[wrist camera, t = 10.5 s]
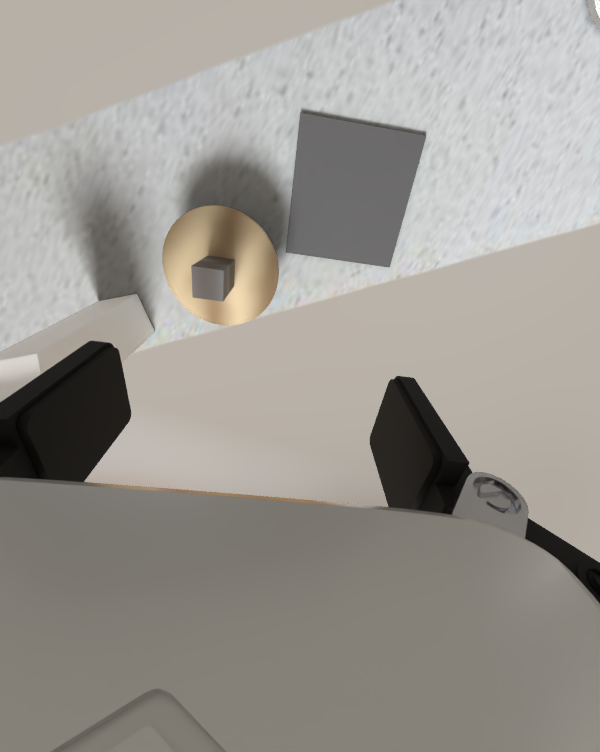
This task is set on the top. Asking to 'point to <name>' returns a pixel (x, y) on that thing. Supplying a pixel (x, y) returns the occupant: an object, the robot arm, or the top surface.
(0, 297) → the top surface
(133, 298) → the milk
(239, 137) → the top surface
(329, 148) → the mat
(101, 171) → the top surface
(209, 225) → the lid
